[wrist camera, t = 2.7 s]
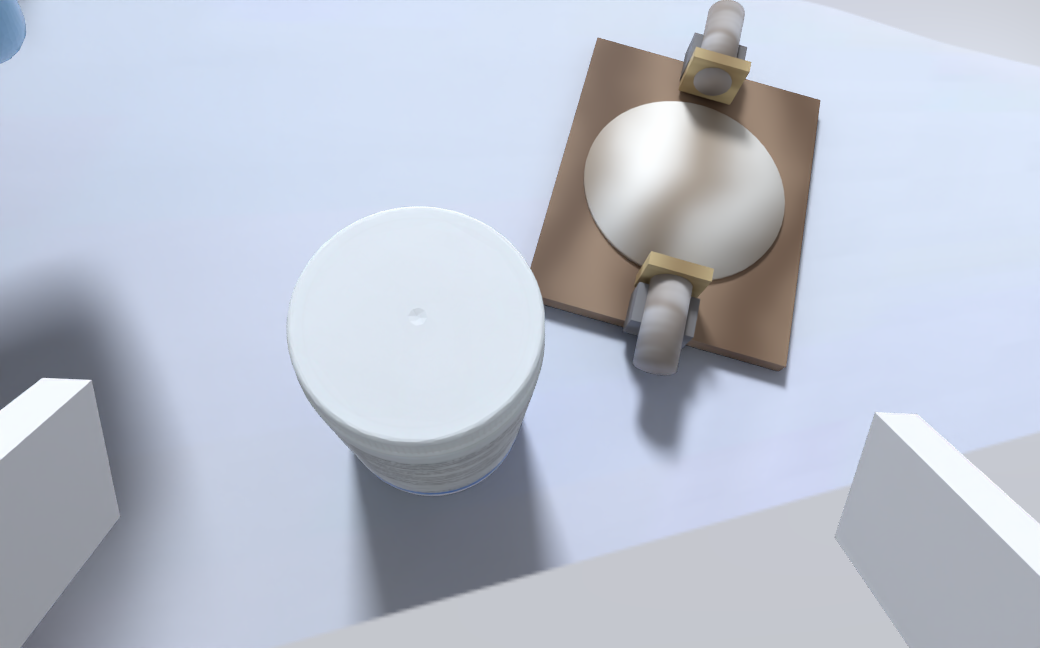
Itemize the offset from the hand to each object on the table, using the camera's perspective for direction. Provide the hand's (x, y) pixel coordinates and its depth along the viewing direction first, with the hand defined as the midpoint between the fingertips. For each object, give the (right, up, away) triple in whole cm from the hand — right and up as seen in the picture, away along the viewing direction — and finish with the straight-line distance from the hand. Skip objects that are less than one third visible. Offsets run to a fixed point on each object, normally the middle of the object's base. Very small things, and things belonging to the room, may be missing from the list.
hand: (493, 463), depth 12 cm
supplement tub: (-4, -3, +26) cm, 27 cm away
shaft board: (+11, +11, +32) cm, 36 cm away
